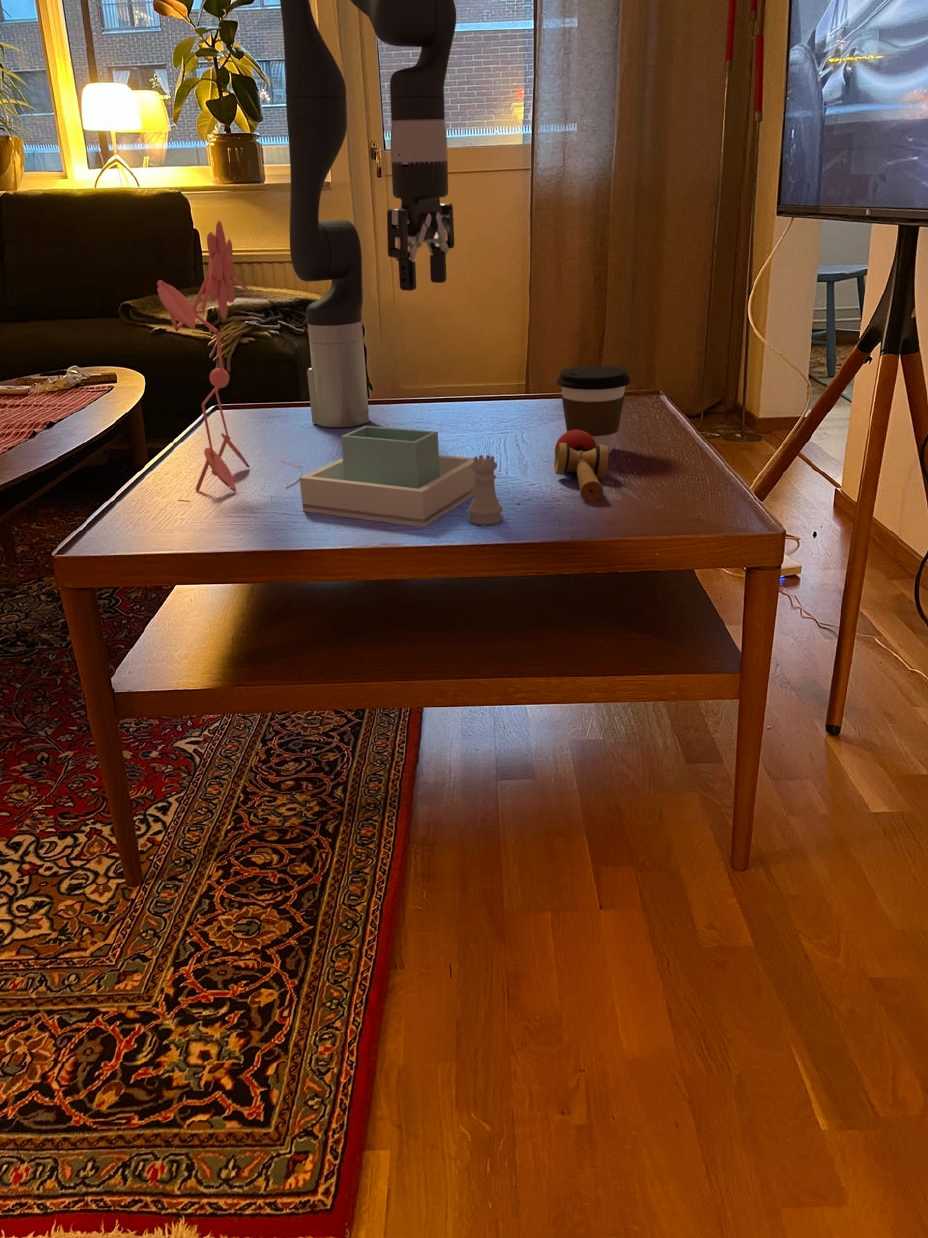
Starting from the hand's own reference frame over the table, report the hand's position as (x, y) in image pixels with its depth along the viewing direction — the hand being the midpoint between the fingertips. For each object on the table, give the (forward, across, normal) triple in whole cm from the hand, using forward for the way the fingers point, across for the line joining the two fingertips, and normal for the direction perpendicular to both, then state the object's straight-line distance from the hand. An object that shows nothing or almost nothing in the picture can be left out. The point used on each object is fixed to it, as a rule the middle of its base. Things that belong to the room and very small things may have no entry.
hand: (423, 286), depth 137 cm
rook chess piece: (+25, +22, +21) cm, 39 cm away
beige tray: (+25, +20, +6) cm, 32 cm away
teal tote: (+24, +20, +6) cm, 31 cm away
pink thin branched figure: (+26, +19, -19) cm, 37 cm away
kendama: (+25, +2, +26) cm, 36 cm away
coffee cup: (+25, -14, +21) cm, 35 cm away
